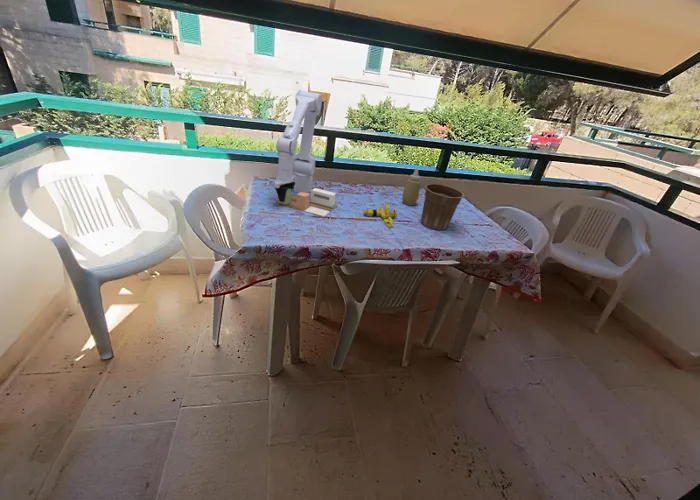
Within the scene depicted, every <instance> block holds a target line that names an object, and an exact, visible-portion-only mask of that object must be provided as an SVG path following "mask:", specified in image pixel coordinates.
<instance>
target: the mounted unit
mask: <svg viewBox="0 0 700 500" xmlns="http://www.w3.org/2000/svg"><path fill="white" fill-rule="evenodd" d="M336 197H337V193H336V192H332V191H328V190H324V189H321V188H317V187H315V188H312V191H311V192H310V199H311V200H309V203H311V204H314V205H318V206H322V207H326V208H329V209H333V210H334V209H335V207H336V208H337V207H338V204H337V203H336Z"/></svg>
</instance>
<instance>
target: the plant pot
mask: <svg viewBox="0 0 700 500" xmlns="http://www.w3.org/2000/svg"><path fill="white" fill-rule="evenodd" d="M424 187H425V191H424V201H423V207H422V213H421V218H420V223H421V225H423V226H424V227H427V228H428V229H432V230H433V229H436V230H437V231H445V230H447V229H448V228H449V226H450V224H451V221H452V218H453V216H454V215H455V212H456V210H457V207H458V206H459V204H460V202H461V201H462V198H464V196H465V194H464V193H463V192H462V191H460V190H459V189H457V188H455V187H452V186H450V185H445V184H439V183H429V184H426V185H425V186H424Z"/></svg>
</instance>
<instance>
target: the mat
mask: <svg viewBox="0 0 700 500" xmlns="http://www.w3.org/2000/svg"><path fill="white" fill-rule="evenodd" d="M306 212H307V213H306ZM304 213H306V214H311V215H315V216H317V215H318V217H321V216H322V218H326V217H327V216H328V215H329V214H330V213H331V212H330V211H327V210H323V209H319V208H315V207H312V206H310V207H309V208H307V209H306V210H305V211H304Z"/></svg>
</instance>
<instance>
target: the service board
mask: <svg viewBox="0 0 700 500" xmlns="http://www.w3.org/2000/svg"><path fill="white" fill-rule="evenodd" d="M310 200H311V198H310ZM296 203H297V194H293V193H291V202H290V203H288V204H287V205H285V204H281V203H278V201H276V202H275V203H274V205H277V206H281V207H285V208H288V209H292V210H295V211H299V212H304V211H305V210H302V209H298V208H296ZM310 206H312V207H315V208H319V209H323V210H327V211H330V213H331V212H332V211H334V209H335V208H337V207H335V208H334V209H329V208H326V207H322V206H318V205H314V204H311V203H309V207H310ZM304 213H306V214H308V213H307V212H304ZM316 216H318V215H316ZM318 217H319V216H318ZM320 217H322V216H320ZM322 218H323V217H322Z"/></svg>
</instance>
